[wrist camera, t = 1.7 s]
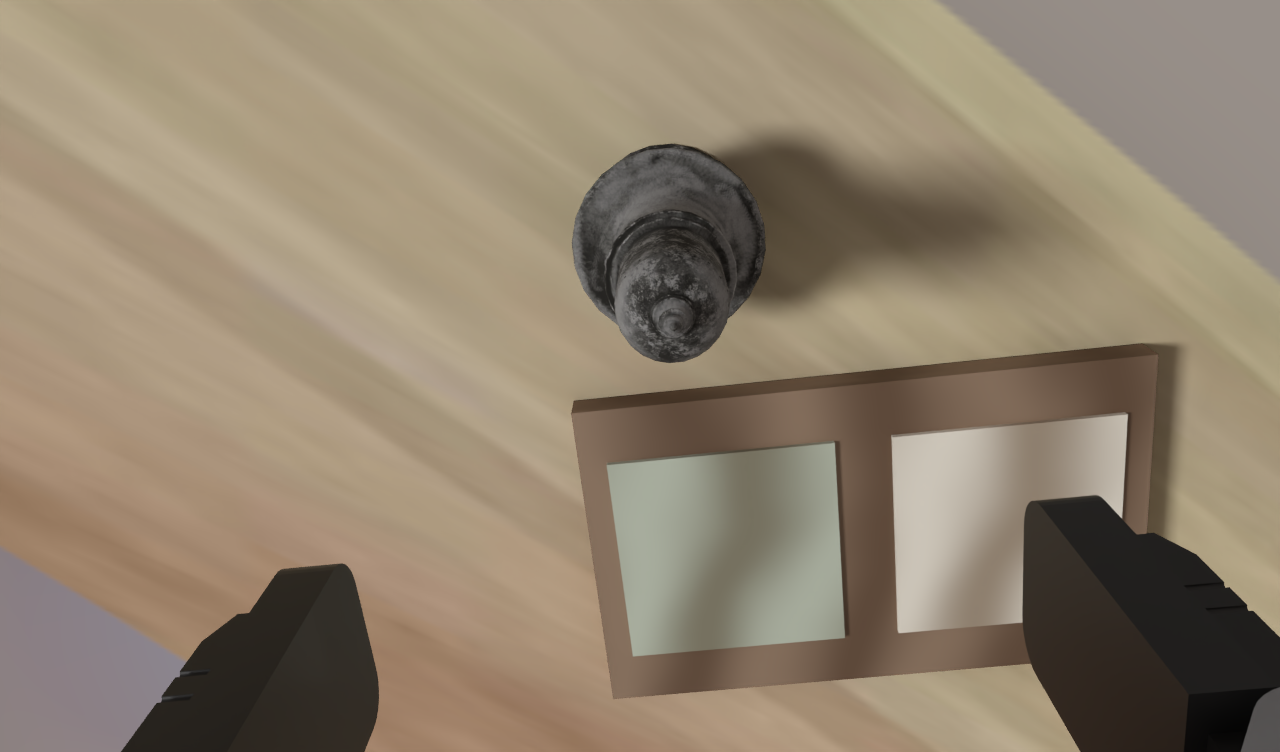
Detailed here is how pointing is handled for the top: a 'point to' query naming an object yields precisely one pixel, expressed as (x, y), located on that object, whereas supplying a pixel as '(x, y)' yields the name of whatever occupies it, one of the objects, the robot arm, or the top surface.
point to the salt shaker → (669, 249)
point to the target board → (846, 514)
